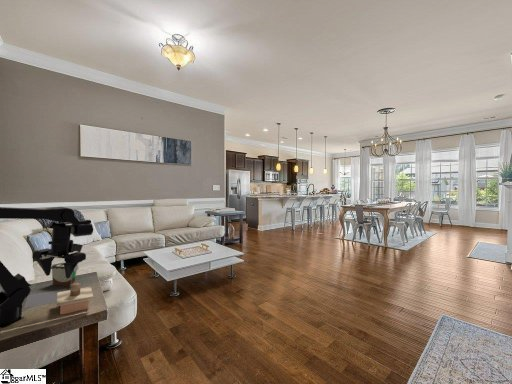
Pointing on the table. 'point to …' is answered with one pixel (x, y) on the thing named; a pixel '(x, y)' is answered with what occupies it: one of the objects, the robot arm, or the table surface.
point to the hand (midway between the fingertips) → (58, 276)
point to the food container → (62, 275)
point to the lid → (74, 295)
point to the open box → (74, 307)
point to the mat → (42, 298)
